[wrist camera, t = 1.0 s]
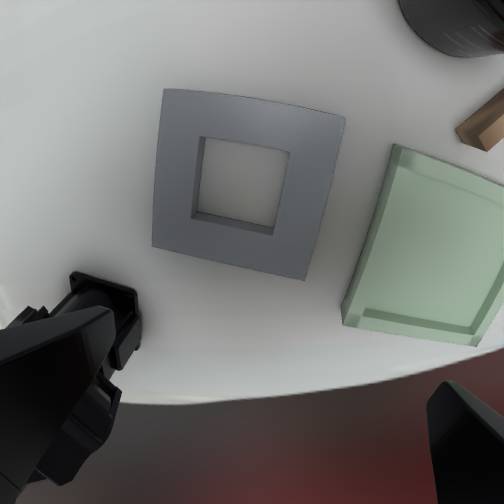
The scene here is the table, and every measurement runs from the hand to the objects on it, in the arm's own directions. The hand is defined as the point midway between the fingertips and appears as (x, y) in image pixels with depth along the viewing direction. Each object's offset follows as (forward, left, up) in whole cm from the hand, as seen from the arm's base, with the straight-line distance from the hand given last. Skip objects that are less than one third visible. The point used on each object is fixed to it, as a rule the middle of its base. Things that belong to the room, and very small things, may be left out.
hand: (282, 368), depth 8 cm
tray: (+10, -1, -13) cm, 17 cm away
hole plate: (-4, +1, -13) cm, 13 cm away
